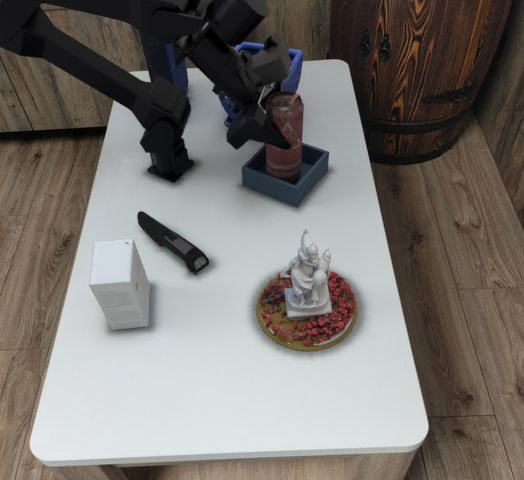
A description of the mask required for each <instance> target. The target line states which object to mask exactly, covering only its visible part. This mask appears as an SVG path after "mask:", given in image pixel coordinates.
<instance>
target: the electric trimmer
mask: <svg viewBox="0 0 524 480" xmlns="http://www.w3.org/2000/svg"><path fill="white" fill-rule="evenodd" d="M136 218H137V219H136V220H137V224H138V226H139V227H140V229H142V230H143V232H144V233H145V234H146V235H147V236H148V237H149V238H150V239H151V240H152V241H153V242H154V243H155V244H156V245H157V246H158V247H159V248H167V249H168V250H169V251H170V252H171V253H173V254H174V255H175V256H176V257H178V258H179V259H180V260H181V261H182V262H184V265H185V266H186V268H187V269H188V271H189V272H190V273H192V274H196V275H199V274H200V273H201V272H203V271H204V270H205V269H207V268H208V267H209V265H210V263H211V262H210V259H209V257H208V256H207V255H206V253H205V252H204V251H203V250H201V248H200V247H198V246H197V245H195V244H193V243H192V242H190V241H189V240H188V239H186V238H185V237H183V236H182V235H180V234H179V233H177V232H175V231H173V230H172V229H171V228H169V227H167V226H166V225H164V224H163V223H161V222H160V221H158V220H157V219H156V218H154V217H153V216H151V215H149V214H148V213H147V212H145V211H143V210H140V211H138V212H137V214H136Z"/></svg>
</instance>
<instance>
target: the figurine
mask: <svg viewBox="0 0 524 480" xmlns="http://www.w3.org/2000/svg"><path fill="white" fill-rule="evenodd" d="M308 230H309V229H308V228H307V229H303V231H302V235H301V237H300V246H299V247H298V249H297V255H295V256H294V257H292V258H291V259H290V261H289V262H288V265H287V267H285V269H284V270H282V272H281V271H279V273H276V275H277V276H276V277H274V278H272V279H270V281H269V282H268V283H267V284H266V285H265V286H264V287H263V288H262V290H261V291H260V293H259V295H258V297H257V299H256V304H255V313H256V314H255V315H256V320H257V322H258V325H259V326H260V328H261V330H262V332H263V333H264V334H265V335H266V336H267V337H268V338H269V339H270V340H271V341H273V342H275V343H276V344H278V345H279V346H282V347H285V348H287V349H290V350H294V351H298V352H300V351H301V352H315V351H316V352H317V351H321V350H326V349H329V348H331V347H333V346H336V345H337V344H338V343H340V342H342V341H343V340H345V339H346V337H348V335H350V333H351V332H352V330H353V329H354V327H355V325H356V322H357V320H358V319H357V318H358V313H359V311H358V308H359V307H358V302H357V299H356V294H355V293H354V292H353V291H352V290H351V288H352V287H351V285H350V282H348V283H347V282H346V279H345V278H344V277H342V276H341V275H339V274H338V272H336V271H330V264H331V261H332V252H331V251H330V248H326V249H325V252H323V253H322V255H321V254H320V252H319V251H320V250H319V246H318V245H317V243H316V242H314V241H313V242H312V243H311V244H310V245H309V247H308V246H306V245H305V235H307V234H308V233H309V231H308Z"/></svg>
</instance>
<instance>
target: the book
mask: <svg viewBox="0 0 524 480" xmlns="http://www.w3.org/2000/svg"><path fill="white" fill-rule="evenodd" d="M138 35H139V40H140V43H141V48H142V53H143V55H144V60H145V64H146V69H147V72H148V77H149V82H154V83H155V82H156V79H157V77H158V76H161V77H163V78H165V79H166V80H167V81H168V82H170V83H171V84H172V85H175V86H177V87H181V88H182V89H181V92H182V93H184V94H185V95H186V96H187V95H188V92H189V91H188V88H189V75H188V68H187V62H186V58H185V59H184V60H183V61H182V63H181V64H180V65H179V66H176V65H175V64H174V51H173V48H172V45H173V44H165V43H162V42H160V41H157V40H155V39H152V38H150V37H148V36H145V35H143V34H141V33H140V32H139V31H138Z"/></svg>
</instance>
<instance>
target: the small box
mask: <svg viewBox="0 0 524 480" xmlns="http://www.w3.org/2000/svg"><path fill="white" fill-rule="evenodd" d="M90 266H91V267H90V275H89V282H88V287H89V288H90V290H91V292H92V294H93V296H94V298H95V299H96V302H97V303H98V306H99V307H100V309H101V311H102V313H103V315H104V317H105V319H106V320H107V322H108V325H109V326H110V328H111V330H113V331H114V330H125V329H135V328H146V327H149V325H150V322H149V321H150V299H151V298H150V295H151V284H150V281H149V278H148V275H147V273H146V270H145V266H144V264H143V262H142V259H141V255H140V253H139V250H138V247H137V245H136V242H135V239H134V238H126V239H115V240H103V241H95V242H93V249H92V257H91V265H90Z"/></svg>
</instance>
